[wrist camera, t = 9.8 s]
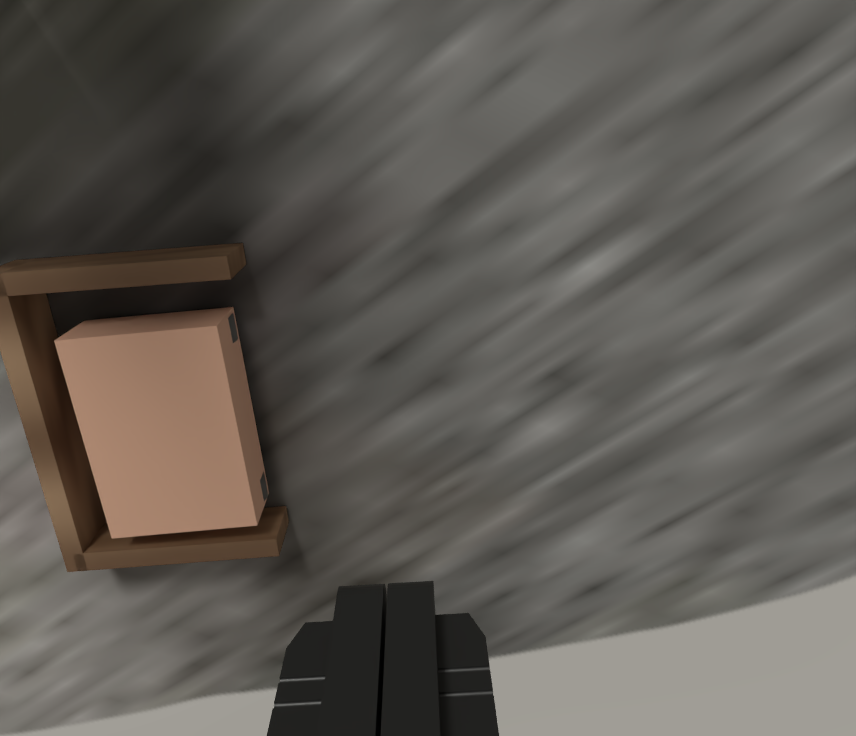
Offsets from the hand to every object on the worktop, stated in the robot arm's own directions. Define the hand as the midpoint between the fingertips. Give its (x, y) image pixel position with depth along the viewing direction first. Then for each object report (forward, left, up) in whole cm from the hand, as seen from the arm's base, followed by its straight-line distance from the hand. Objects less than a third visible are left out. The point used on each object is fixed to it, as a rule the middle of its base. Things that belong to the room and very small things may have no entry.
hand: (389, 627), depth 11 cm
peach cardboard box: (+5, -11, -23) cm, 26 cm away
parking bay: (+5, -12, -23) cm, 27 cm away
